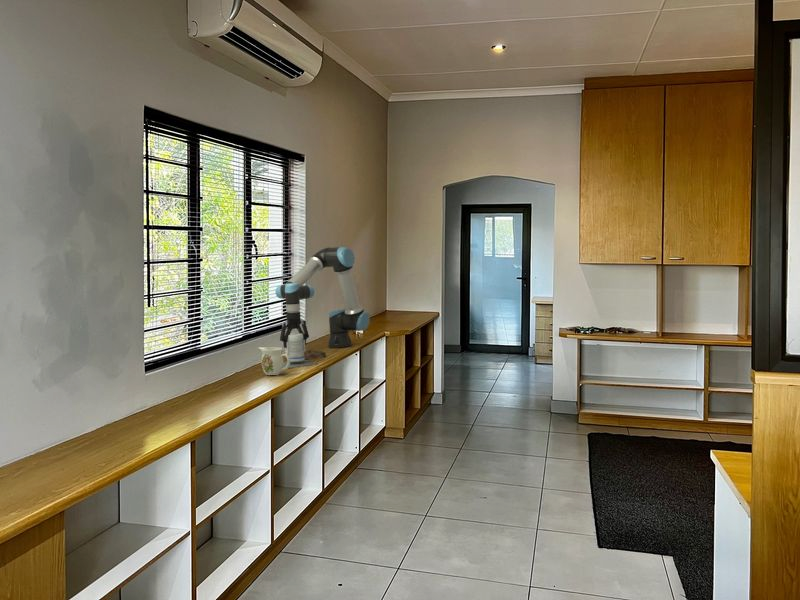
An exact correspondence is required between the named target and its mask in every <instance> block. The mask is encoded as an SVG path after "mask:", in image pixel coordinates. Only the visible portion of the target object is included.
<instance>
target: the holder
mask: <svg viewBox="0 0 800 600" xmlns="http://www.w3.org/2000/svg"><path fill="white" fill-rule="evenodd" d="M304 356H305V359H304V360H306V359H307V360H313V358H314V359H318V357H320V358H324V356H327V355H326V352H325V351H322V350H316V349H313V348H312V349H305V352H304Z"/></svg>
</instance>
